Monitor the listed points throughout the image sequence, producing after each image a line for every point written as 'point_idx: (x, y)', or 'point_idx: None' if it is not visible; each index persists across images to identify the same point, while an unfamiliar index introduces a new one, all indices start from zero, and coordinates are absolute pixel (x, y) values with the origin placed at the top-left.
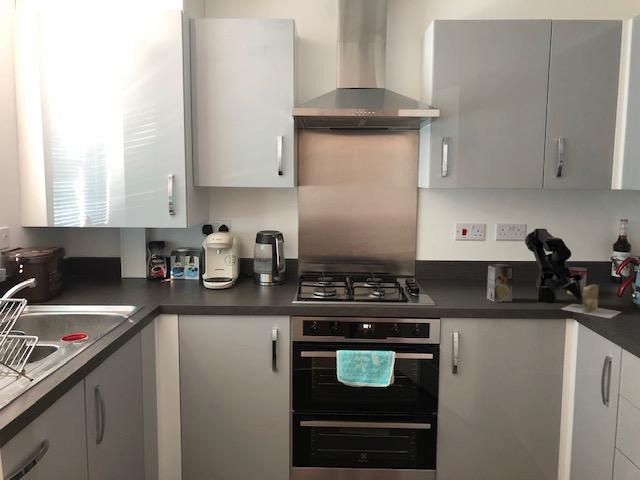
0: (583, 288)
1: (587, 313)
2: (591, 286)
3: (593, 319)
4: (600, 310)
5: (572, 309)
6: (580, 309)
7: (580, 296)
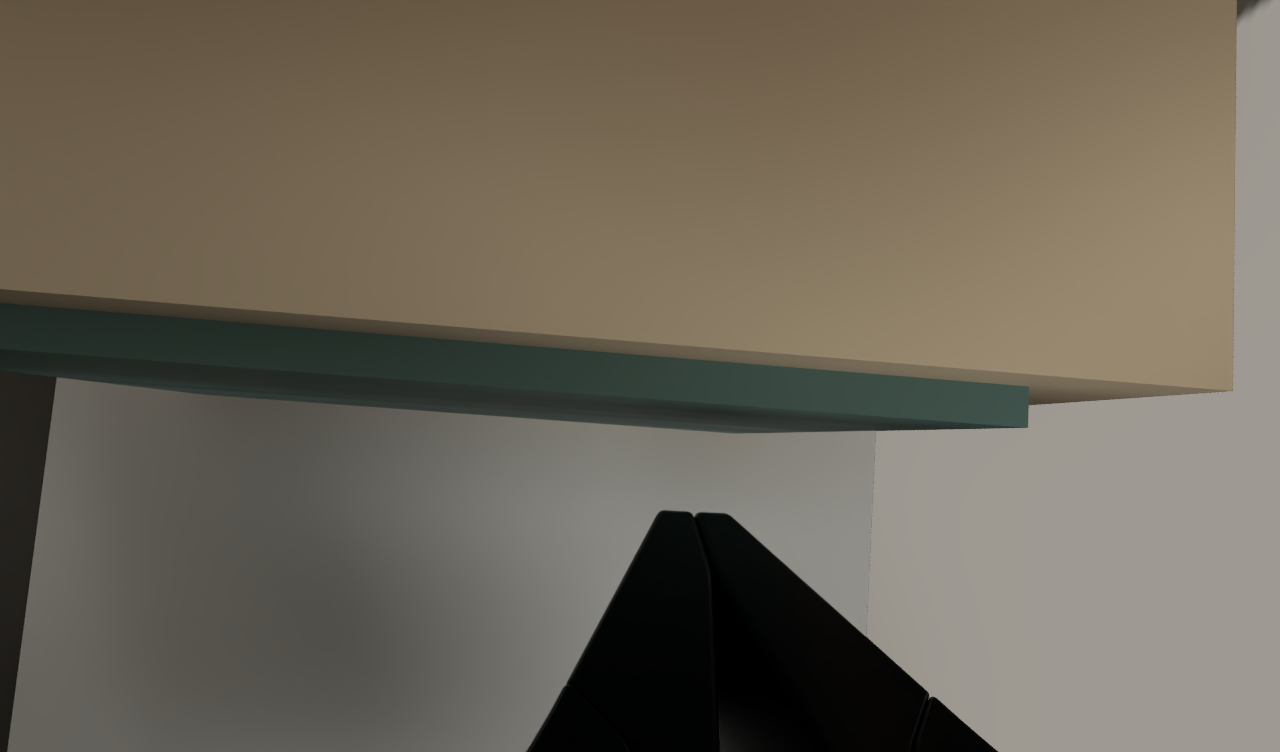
0: (1191, 387)
1: None
2: (328, 48)
3: None
4: None
5: None
6: (565, 512)
7: (758, 543)
